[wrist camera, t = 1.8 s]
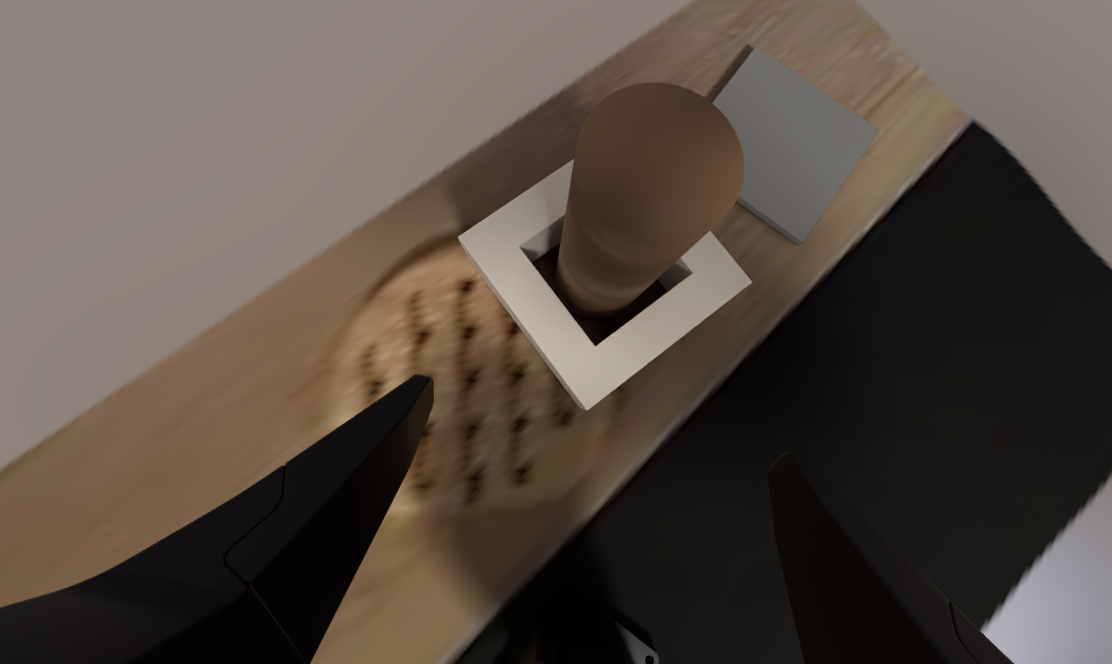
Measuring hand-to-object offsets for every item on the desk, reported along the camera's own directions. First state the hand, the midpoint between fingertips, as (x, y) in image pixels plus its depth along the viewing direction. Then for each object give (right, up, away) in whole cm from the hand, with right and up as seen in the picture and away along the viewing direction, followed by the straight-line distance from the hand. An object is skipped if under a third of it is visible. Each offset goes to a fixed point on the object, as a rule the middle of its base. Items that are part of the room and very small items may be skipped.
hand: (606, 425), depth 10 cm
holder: (+1, +6, +14) cm, 15 cm away
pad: (+13, +15, +16) cm, 26 cm away
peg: (+1, +6, +14) cm, 16 cm away
